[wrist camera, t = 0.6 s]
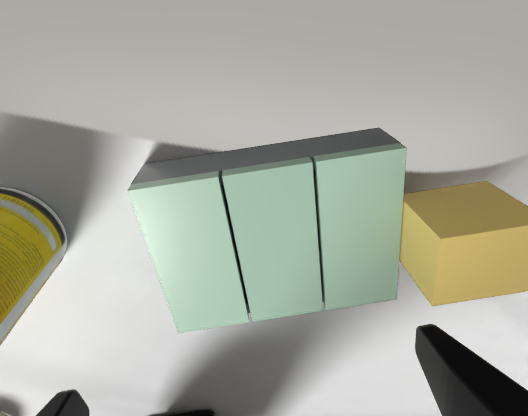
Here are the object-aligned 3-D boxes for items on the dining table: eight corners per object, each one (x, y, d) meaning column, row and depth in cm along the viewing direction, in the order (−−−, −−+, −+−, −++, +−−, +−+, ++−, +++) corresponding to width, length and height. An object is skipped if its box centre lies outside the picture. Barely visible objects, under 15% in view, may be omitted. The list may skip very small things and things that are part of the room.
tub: (375, 262, 25) (392, 290, 22) (185, 292, 25) (179, 323, 22) (379, 127, 20) (400, 142, 18) (144, 163, 20) (130, 184, 18)
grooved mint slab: (467, 278, 22) (518, 333, 18) (180, 323, 22) (168, 388, 18) (496, 128, 18) (573, 157, 14) (131, 184, 18) (101, 230, 14)
